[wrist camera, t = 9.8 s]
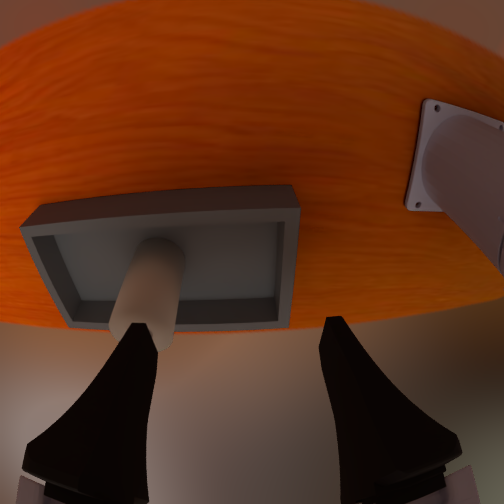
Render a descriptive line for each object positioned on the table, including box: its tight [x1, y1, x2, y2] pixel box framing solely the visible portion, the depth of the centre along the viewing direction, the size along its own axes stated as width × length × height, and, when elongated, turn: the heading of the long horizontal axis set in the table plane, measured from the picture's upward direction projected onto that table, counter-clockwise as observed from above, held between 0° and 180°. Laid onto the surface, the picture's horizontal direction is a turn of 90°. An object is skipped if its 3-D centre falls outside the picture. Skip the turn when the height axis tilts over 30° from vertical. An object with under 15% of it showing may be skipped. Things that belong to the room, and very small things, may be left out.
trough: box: [19, 185, 301, 332], centre depth 19 cm, size 18×10×3 cm, turn 90°
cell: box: [109, 238, 185, 352], centre depth 17 cm, size 4×4×7 cm
